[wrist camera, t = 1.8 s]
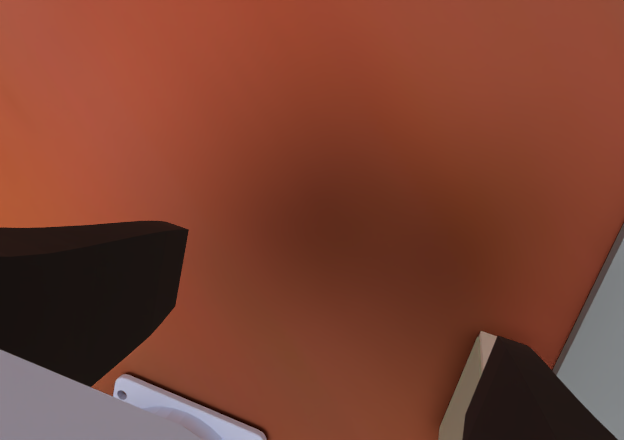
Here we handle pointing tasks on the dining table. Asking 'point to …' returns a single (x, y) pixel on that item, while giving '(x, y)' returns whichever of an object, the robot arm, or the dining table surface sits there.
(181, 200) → the dining table surface
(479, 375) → the block
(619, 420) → the mat
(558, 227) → the dining table surface
